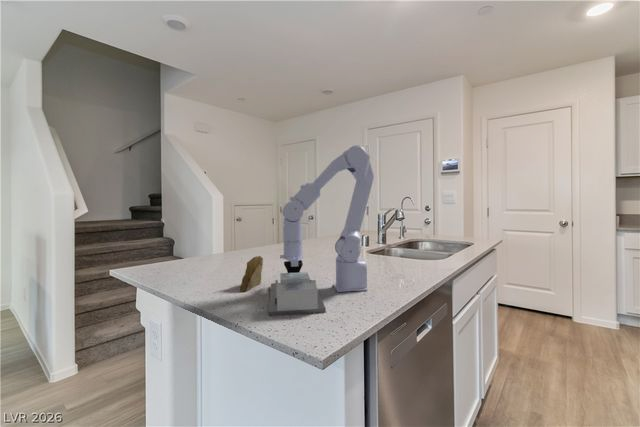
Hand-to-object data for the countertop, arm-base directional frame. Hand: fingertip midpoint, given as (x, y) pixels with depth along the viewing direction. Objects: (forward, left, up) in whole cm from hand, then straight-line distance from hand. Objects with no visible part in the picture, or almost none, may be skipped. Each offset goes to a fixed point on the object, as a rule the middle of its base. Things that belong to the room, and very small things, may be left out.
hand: (293, 284), depth 94 cm
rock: (+14, -7, -2) cm, 16 cm away
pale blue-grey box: (-1, +8, -1) cm, 8 cm away
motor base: (0, +7, -2) cm, 7 cm away
